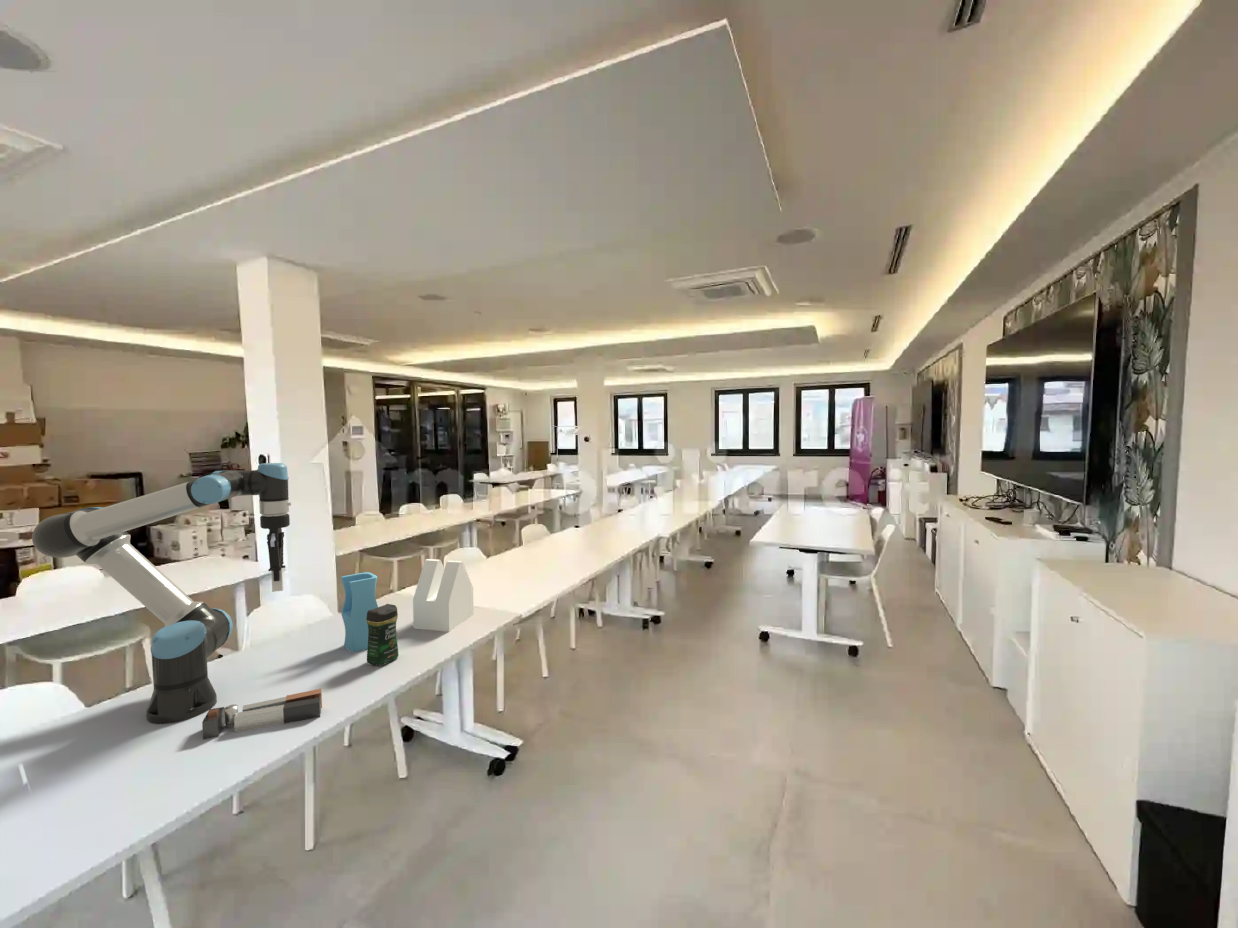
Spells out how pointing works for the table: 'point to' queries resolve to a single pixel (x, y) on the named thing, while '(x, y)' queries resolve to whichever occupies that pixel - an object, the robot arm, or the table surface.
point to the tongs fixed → (261, 716)
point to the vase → (358, 608)
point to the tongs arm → (269, 704)
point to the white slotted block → (442, 596)
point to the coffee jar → (382, 635)
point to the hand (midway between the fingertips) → (277, 590)
